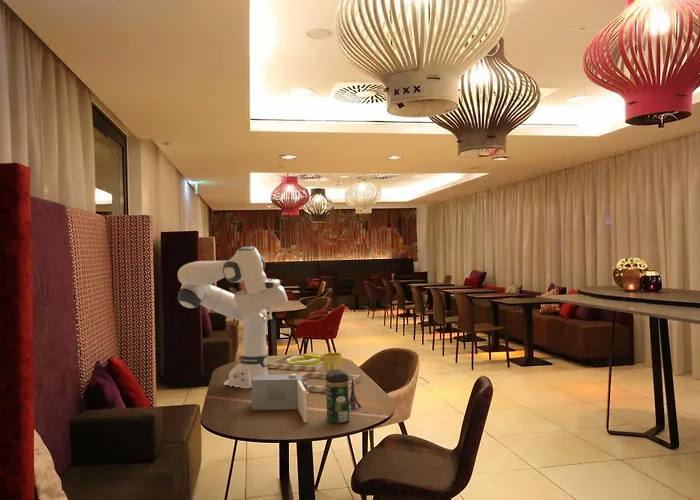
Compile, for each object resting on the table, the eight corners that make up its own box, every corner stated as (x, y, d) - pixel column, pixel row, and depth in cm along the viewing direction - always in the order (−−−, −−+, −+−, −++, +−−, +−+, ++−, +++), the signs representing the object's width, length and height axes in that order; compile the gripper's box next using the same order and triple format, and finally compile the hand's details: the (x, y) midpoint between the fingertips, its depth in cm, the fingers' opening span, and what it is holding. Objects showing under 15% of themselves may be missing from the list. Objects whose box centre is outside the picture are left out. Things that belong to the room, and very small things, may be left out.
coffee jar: (324, 417, 203) (323, 368, 203) (344, 415, 205) (343, 367, 205) (330, 425, 194) (329, 374, 194) (351, 422, 196) (350, 372, 196)
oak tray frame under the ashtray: (266, 368, 294) (266, 363, 294) (287, 359, 317) (287, 355, 317) (314, 371, 284) (314, 366, 284) (332, 362, 307) (332, 357, 307)
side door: (309, 422, 197) (309, 389, 197) (303, 422, 196) (302, 389, 196) (303, 408, 215) (302, 377, 215) (297, 408, 215) (296, 378, 215)
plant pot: (327, 370, 286) (326, 352, 286) (345, 371, 282) (344, 352, 282) (319, 374, 276) (318, 355, 276) (337, 375, 273) (337, 356, 273)
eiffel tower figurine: (336, 405, 221) (336, 372, 222) (360, 403, 223) (360, 371, 223) (342, 415, 207) (341, 381, 207) (368, 413, 208) (367, 379, 208)
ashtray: (326, 364, 302) (326, 355, 303) (300, 371, 287) (299, 362, 287) (305, 361, 313) (305, 352, 313) (279, 367, 297) (279, 358, 297)
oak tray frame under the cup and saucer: (284, 389, 247) (284, 384, 247) (308, 377, 271) (308, 372, 271) (340, 393, 237) (340, 388, 237) (360, 380, 261) (360, 375, 261)
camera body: (252, 410, 215) (251, 377, 215) (256, 403, 224) (255, 372, 224) (306, 408, 215) (305, 376, 215) (308, 402, 224) (307, 371, 224)
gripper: (230, 294, 208) (240, 328, 209) (279, 281, 205) (289, 315, 206) (235, 291, 214) (245, 324, 215) (283, 278, 211) (292, 312, 212)
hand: (267, 320), depth 210 cm, fingers closed
